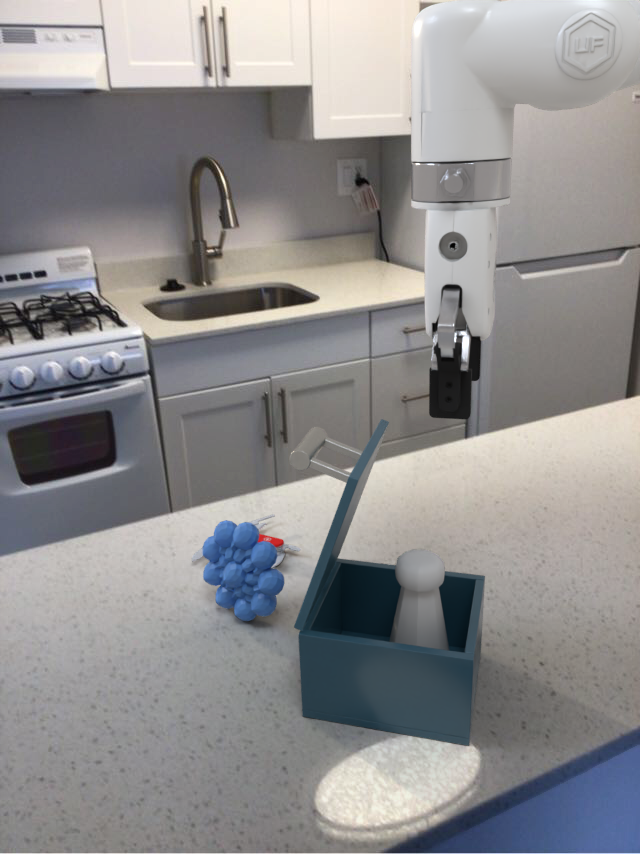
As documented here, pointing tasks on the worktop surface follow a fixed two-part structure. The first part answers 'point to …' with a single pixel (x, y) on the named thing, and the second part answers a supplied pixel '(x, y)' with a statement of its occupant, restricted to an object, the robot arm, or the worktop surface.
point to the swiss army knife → (275, 541)
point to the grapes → (242, 570)
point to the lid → (347, 505)
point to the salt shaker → (420, 600)
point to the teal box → (390, 656)
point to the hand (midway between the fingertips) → (456, 397)
